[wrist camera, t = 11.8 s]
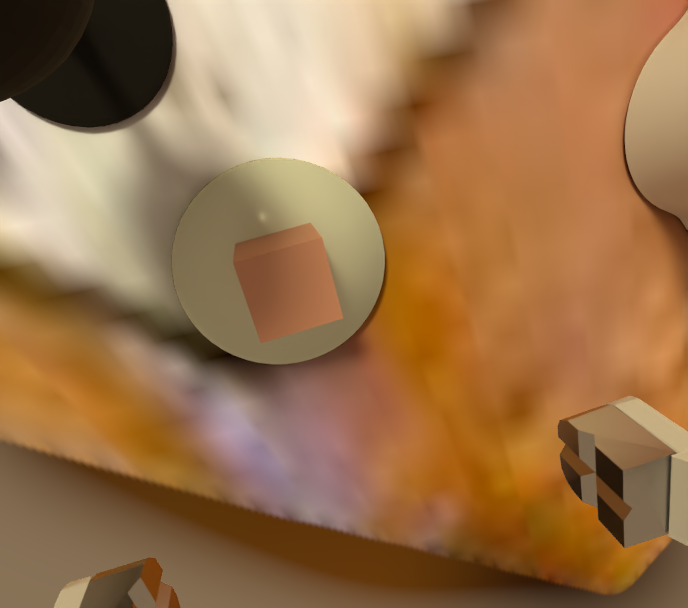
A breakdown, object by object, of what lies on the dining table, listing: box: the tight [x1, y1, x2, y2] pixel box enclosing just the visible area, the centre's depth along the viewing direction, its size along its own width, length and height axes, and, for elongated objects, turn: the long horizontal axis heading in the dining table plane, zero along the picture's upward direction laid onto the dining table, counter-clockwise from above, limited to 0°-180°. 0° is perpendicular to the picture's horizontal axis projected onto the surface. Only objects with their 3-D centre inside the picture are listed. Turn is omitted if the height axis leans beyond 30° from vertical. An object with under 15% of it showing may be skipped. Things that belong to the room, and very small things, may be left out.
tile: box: [171, 158, 385, 364], centre depth 31 cm, size 14×14×1 cm
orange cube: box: [233, 223, 343, 343], centre depth 28 cm, size 5×5×5 cm
